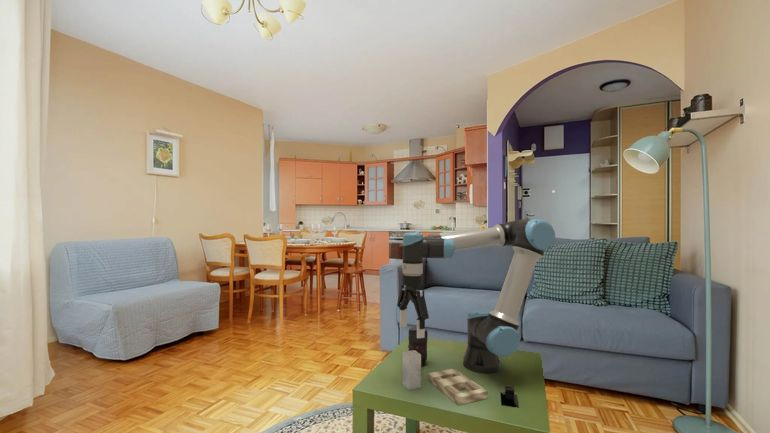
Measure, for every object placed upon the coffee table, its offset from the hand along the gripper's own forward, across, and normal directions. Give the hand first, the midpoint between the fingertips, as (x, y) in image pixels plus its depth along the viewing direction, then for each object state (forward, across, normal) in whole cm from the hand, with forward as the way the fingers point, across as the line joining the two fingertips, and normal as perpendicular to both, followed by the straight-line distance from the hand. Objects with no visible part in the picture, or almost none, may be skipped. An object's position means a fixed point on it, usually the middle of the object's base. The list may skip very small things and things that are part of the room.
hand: (411, 332), depth 129 cm
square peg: (+20, 0, 0) cm, 20 cm away
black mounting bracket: (+20, +22, +27) cm, 40 cm away
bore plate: (+20, +8, +14) cm, 26 cm away
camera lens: (+20, -17, +12) cm, 29 cm away
